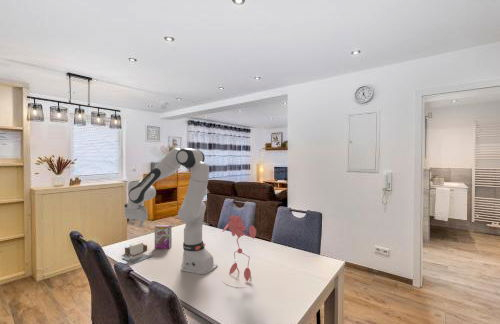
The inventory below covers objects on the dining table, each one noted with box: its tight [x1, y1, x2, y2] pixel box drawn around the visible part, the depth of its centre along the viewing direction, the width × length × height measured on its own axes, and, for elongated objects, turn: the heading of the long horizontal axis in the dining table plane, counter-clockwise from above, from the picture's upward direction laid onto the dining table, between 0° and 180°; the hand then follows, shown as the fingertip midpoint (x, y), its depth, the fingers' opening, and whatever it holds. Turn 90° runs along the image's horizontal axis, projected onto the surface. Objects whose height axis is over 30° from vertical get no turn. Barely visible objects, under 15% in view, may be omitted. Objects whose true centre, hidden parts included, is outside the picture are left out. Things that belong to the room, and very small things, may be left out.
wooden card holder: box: [124, 243, 148, 256], centre depth 167 cm, size 8×12×4 cm
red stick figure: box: [222, 214, 257, 289], centre depth 127 cm, size 15×26×35 cm, turn 49°
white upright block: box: [129, 241, 144, 260], centre depth 156 cm, size 4×7×9 cm, turn 148°
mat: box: [121, 253, 152, 264], centre depth 156 cm, size 14×12×1 cm
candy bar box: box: [154, 224, 173, 250], centre depth 174 cm, size 11×5×16 cm, turn 84°
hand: (136, 225), depth 156 cm, fingers open, 8 cm apart
